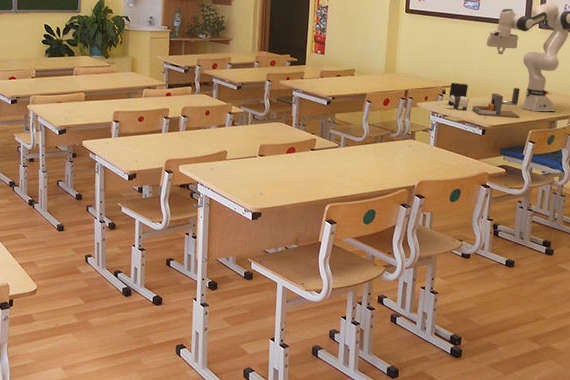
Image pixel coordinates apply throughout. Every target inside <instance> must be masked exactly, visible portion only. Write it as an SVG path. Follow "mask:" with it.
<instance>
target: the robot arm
mask: <svg viewBox="0 0 570 380" xmlns="http://www.w3.org/2000/svg"><path fill="white" fill-rule="evenodd" d="M498 17H499V18H498V27H497V29H496V30H491V31H489V36H488V37H487V40H486V46H487V47H489V48H497V55H504V52H505V50H506V49H517V47H518V40H519V36H518V35H517V34H513V33H511V32H512V30H517V31H522V32H528V31H530V30H531V29H532V28H533V27H535V26H536V25H539V24H541V23H544V25H545V27H547V28H548V29H553V31H552V32H551V34H550V35H549V36H548V37H547V39H546V40H545V41H544V43H543V46H542V48H543V51H544V52H542V53H541V52H536V51H531V52H527V53H526V54H525V55H524V56H523V58H522V59H523V64H524V66H525V67H526V68H527V71H528V84H527V88H526V91H525V98H524V102H523V104H522V107H521V108H522V109H524V110H528V111H533V112H537V111H553V109H554V108H553V107H554V106H553V101H551V100H550V98H549V97H548V96H547V95H549V94H550V93H549V91H548V90H545V87H546V77H545V76H544V74H543V73H542V71H546V72H553V71H556V69H558V67H559V58H558V57H557V56H558V54H559V53H558V52H559V51H560V49H561V48H562V47H563V46H564V44H565V42H566V41H567V39H568V37H569V31H568V30H569V29H570V10H569V11H568V10H564V11H559V7H558V5H557V4H556V3H554V2H548V3H547V2H546V3H543V4H540V5H537V6H535V7H534V8H533V9H532V12H531V16H529V15H521V14H517V13H515V11H514V10H513V8H504V9H502V10H501V11H500V13H499V16H498ZM501 48H502V50H501ZM500 50H501V51H500Z"/></svg>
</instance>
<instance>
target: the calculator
mask: <svg viewBox="0 0 570 380" xmlns="http://www.w3.org/2000/svg"><path fill="white" fill-rule="evenodd" d="M468 89H469V86H468V84H467V83H457V82H456V83H455V82H451V84H450V89H449V97H450V96H453V95H454V97H466V98H467V92H468ZM449 97H448V98H449ZM448 105H449V106H453V105H454V103H453V102H450V101H449V100H448Z"/></svg>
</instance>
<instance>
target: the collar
mask: <svg viewBox="0 0 570 380" xmlns="http://www.w3.org/2000/svg"><path fill="white" fill-rule="evenodd" d="M487 107H488V110H487V111H493V110H494V105H493V104H492V103H491V102H490V103H488V105H487Z"/></svg>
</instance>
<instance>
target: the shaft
mask: <svg viewBox="0 0 570 380" xmlns="http://www.w3.org/2000/svg"><path fill="white" fill-rule="evenodd" d="M519 96H520V88H519V87H514V88H513V92H512V96H511V101H509V100H502V105H507V106H517V105H518V102H519Z"/></svg>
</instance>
